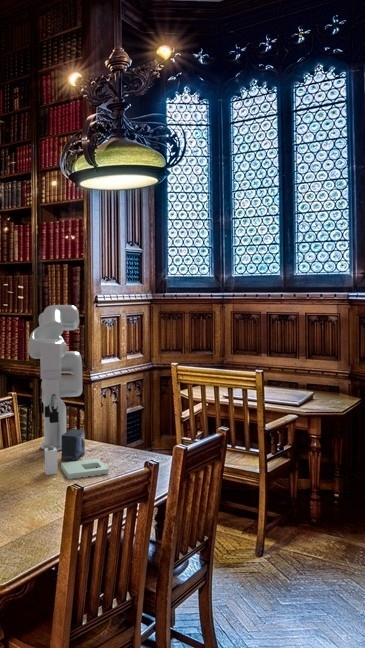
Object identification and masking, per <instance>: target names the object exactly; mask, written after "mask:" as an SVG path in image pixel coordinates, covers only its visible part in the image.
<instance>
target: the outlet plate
mask: <svg viewBox="0 0 365 648" xmlns="http://www.w3.org/2000/svg"><path fill="white" fill-rule="evenodd" d="M96 467H97V468H96ZM60 469H61V470H62V472H63V473H64V475H65V477H66V478H67V480H74V478H76V479H81V477H83V478H89V477H88V476H91V477H96V476H95V475H98V476H102V475H101V474H105V475H109V474H108V473H110V471H109V467H108V466H107V465H106V464H105V462H103V461H102V460H101V459H100V458H93V459H92V458H91V459H85V460H83V459H82V460H76V461H66V462H61V463H60Z"/></svg>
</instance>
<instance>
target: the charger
mask: <svg viewBox="0 0 365 648" xmlns="http://www.w3.org/2000/svg"><path fill="white" fill-rule="evenodd" d="M44 473H45V475H46V476H49V475H57V474H58V450H57V449H56V448H55V447H54V446H49V447H48V448H45V450H44Z"/></svg>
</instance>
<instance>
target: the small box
mask: <svg viewBox="0 0 365 648" xmlns="http://www.w3.org/2000/svg"><path fill="white" fill-rule="evenodd" d="M85 436H86V433H85V430H84V429H83V430H82V429H74V428H73V429H72V428H71V429H69V430H68V431H66V433H65V434H63V435H62V450H61V459H60V460H61V461H66V462H74V461H78V460H79V459H80V458H82V457H83V456H84V455H85V452H86V451H85V448H86V447H85V446H86V445H85V442H86V441H85V439H86V437H85Z"/></svg>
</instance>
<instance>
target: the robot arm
mask: <svg viewBox="0 0 365 648" xmlns="http://www.w3.org/2000/svg"><path fill="white" fill-rule="evenodd" d="M79 315H80V314H79V310H78V308H77V307H76V306H75V305H72V304H52V305H48V306H47V307H45V309H44V311H43V312H41V313H40V314H39V315H38V325H39V326H38V327H36V328H35V329H34V330H32V332H31V333H30V336H29V340H28V347H27V348H28V355H29V356H30V358H32V359H36V360H37V359H40V362H39V363H40V365H39V366H40V379H41V380H42V381H41V383H40V384H41V403H43V432H44V433H43V435H44V438H43V440H44V442H43V443H41V444H40V449H41V450H43V451H45V448H48V447H49V446H54V447H55V448H56V449H57V451H62V435H63V434H65V433H66V432H67V407H66V404H65V402H64V401H63V400H62V399H61V398H66V397H67V398H72V397H74V398H75V397H80V396H81V395H82V393H83V359H82V355H81V354H80V352H78V351H73V350H70V351H69V350H68V344H67V343H66V341H65V339H64V338H63V336H62V334H63V333H64V331H75V330H77V329H78V328H79V324H80V316H79ZM63 373H64V374H63ZM65 373H66V374H65Z"/></svg>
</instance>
